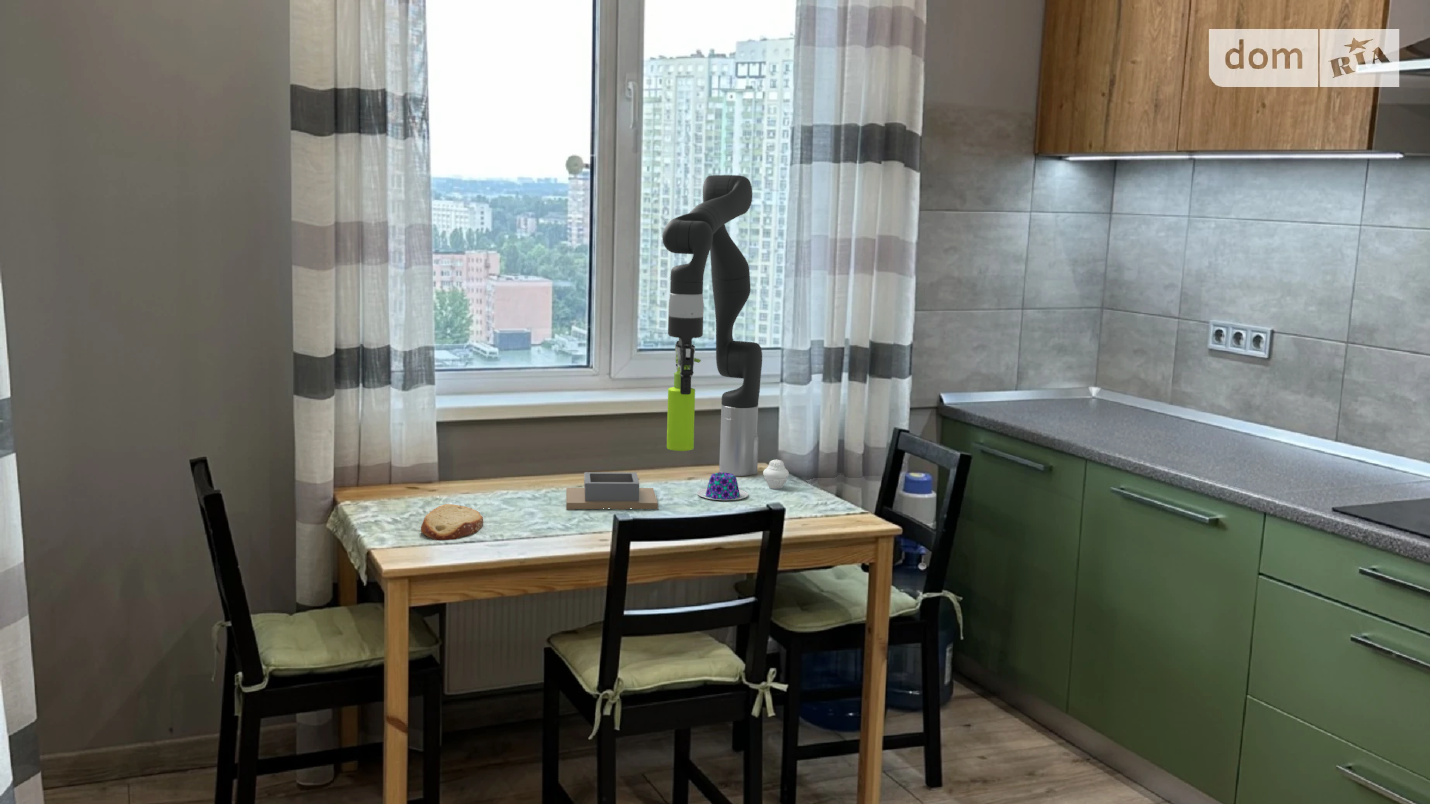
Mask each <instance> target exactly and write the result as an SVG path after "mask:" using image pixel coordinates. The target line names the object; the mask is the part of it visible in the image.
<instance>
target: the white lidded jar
mask: <svg viewBox="0 0 1430 804" xmlns="http://www.w3.org/2000/svg"><path fill="white" fill-rule="evenodd" d="M762 474H763V477H764V480H765V482H766V484H767V486H768V488H769V489H773V490H781V489H783V487H784V485H785V484H786V482H787V480H788V477H789V475H790V473H789V470H788V469H786V466H785V464H784V461H783V460H781V459H777V458H776V459H773V460H770V461H769V462H768V466H767V467H766V468H765V469H764V470H763V472H762Z"/></svg>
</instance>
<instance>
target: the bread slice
mask: <svg viewBox="0 0 1430 804" xmlns="http://www.w3.org/2000/svg"><path fill="white" fill-rule="evenodd" d="M483 526H484V517H483V515H482V514H481V513H480V512H479V511H478V510H476V509H473V508H471V507H468V506H463V505H458V504H453V503H452V504H450V503H445V504H442V505H439V506H437V507H436V508H434V509H432V510H431V511H430V512H428V513H427V514H426V515H425V517H424V519H423V521H422V524H421V526H420V531H421V533H422V534H423V535H424V536H425V537H426V538H428V539H430V538H431V539H432V540H434V541H452V540H458V539H460V538H464V537H468V536H472V535H474V534H476V533H478V532H479V531H480V530H481V529H482V528H483Z"/></svg>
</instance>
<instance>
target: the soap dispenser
mask: <svg viewBox="0 0 1430 804" xmlns="http://www.w3.org/2000/svg"><path fill="white" fill-rule="evenodd" d="M676 361H678V358H676V357H675V362H676ZM701 361H702V359H699V358H696V357H694V363H701ZM684 370H686V367H684ZM673 375H674V377H673V386H672V387H668V388H667V413H666V414H667V417H666V418H667V425H666V449H667V450H669V451H676V452H687V451H691V450H694V448H695V446H694V444H695V442H694V441H695V439H694V438H695V414H696V413H695V410H696V409H695V408H696V406H695V405H696V389H695V388H693V387H691V393H690V394H689V395H686V394H681V393H680V381H681V377H680V367H678V371H677V370H676V372H675V371H674V373H673Z"/></svg>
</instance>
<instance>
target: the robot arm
mask: <svg viewBox="0 0 1430 804" xmlns="http://www.w3.org/2000/svg"><path fill="white" fill-rule="evenodd" d="M752 187H753V186H752V183H751V181H750V179H749V178H747V177H746V176H744V175H736V174H731V175H730V174H721V175H719V174H712V175H708V176H707V177H705V178H704V180H703V184H702V201H703V202H701V203H699V204H698V205H696V206H695V207H694V208H693V209H692V210H691V211H690V212H689V213H688V212H687V213H685V214H682V215H680V216H676V217H674V218H672V219H671V220H669V221H668V222H667V224H666V225H665V226H664V229H663V231H662V236H661V237H662V243H663V245H664V247H665V249H666V250H667V251H668V252H670V253H672V254H678V255H679V254H680V255H681V254H683V255H692V258H691V260H690V262H688V263H685V264H679V265H676V266H675V265H674V266H673V267H672V268H671V269H670V277H669V279H670V280H669V281H670V286H669V289H670V290H669V292H670V293H669V299H668V323H667V333H668V336H669V337H671V338H678V340H676V342H675V346H674V350H675V359H676V358H678V361H676V360H675V367H676V372H677V371H678V367H680V377H681V381H680V393H681V394H686V395H689V394H690V393H691V388H692V377H693V375H694V366H695V362H694V358H695V354H696V346H695V344H693V339H697V338H698V339H699V338H702V337H703V335H704V312H705V311H704V310H705V309H704V305H705V304H704V276H705V275H704V274H705V269H706V265H707V261H708V257H709V255H710V274H711V275H710V276H711V284H712V294H713V295H712V296H713V304H714V313H715V314H714V315H715V360H716V368H717V371H718V373H719V375H720V376H721V377H726V378H732V379H733V378H734V379H735V378H736V379H743V381H742V385H741V386H739V388H735V389H733V390H728V391H725V392H724V393H722V394H721V405H720V406H721V410H720V414H721V415H720V438H719V439H720V441H719V443H720V444H719V462H718V463H719V467H718V468H719V469H718V471H719V472H718V473H731V474H733V475H735V476H738V477H741V476H742V477H743V476H744V477H745V476H752V475H758V466H759V465H758V464H759V463H758V461H759V458H758V457H759V436H758V422H759V421H758V420H759V418H758V417H759V398H760V391H761V377H762V367H763V349H762V347H761V344H759V343H757V342H754V341H753V342H752V341H742V340H734V338H733V337H734V336H733V331H734V324H735V322H736V320H737V318H738V316H739V314H740V313H741V312H742V309H743V308H744V307H745V305H746V303H747V301H748V299H749V297H750V294H751V290H752V289H751V275H750V266H749V263H748V260H747V259H746V257H745V255H744V254H743V253H742V251H741V250H740V249H739V247H738V246H737V245H736V244H735V241H733V239H732V237H731V235H730V234H729V232H728V230H727V228H726V224H728V223H729V222H731V221H733V220H734V219H736V218H738V217H740V216H742V215H745V214H746V213H747V212H748V211H749V210H750V208H751V205H752V202H753V188H752ZM684 367H686V370H684Z"/></svg>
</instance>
